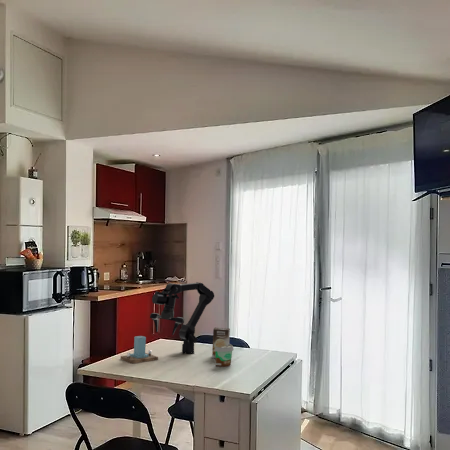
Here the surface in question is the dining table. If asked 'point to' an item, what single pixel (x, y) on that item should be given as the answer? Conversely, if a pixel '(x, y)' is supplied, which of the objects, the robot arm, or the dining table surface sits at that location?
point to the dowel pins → (148, 354)
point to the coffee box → (220, 338)
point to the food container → (223, 355)
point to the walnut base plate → (139, 359)
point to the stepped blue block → (139, 347)
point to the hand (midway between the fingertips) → (164, 333)
